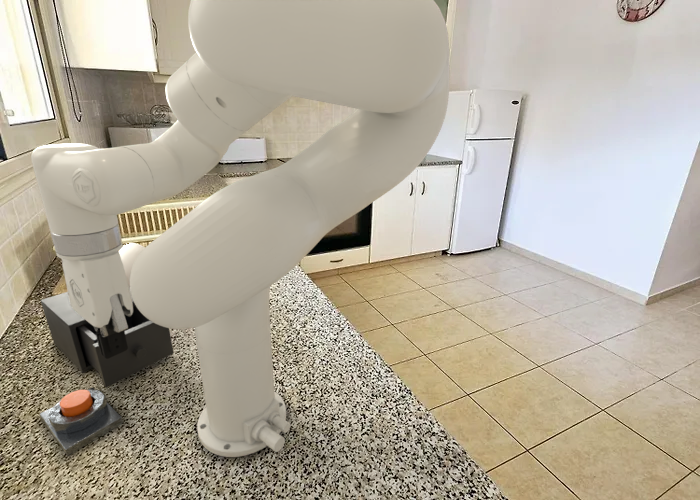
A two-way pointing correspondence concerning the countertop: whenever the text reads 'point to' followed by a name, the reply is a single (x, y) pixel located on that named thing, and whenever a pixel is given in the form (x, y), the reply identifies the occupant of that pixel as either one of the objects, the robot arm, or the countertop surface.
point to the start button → (76, 403)
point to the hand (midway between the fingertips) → (114, 352)
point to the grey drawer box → (66, 328)
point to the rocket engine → (129, 257)
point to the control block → (81, 423)
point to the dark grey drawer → (143, 348)
